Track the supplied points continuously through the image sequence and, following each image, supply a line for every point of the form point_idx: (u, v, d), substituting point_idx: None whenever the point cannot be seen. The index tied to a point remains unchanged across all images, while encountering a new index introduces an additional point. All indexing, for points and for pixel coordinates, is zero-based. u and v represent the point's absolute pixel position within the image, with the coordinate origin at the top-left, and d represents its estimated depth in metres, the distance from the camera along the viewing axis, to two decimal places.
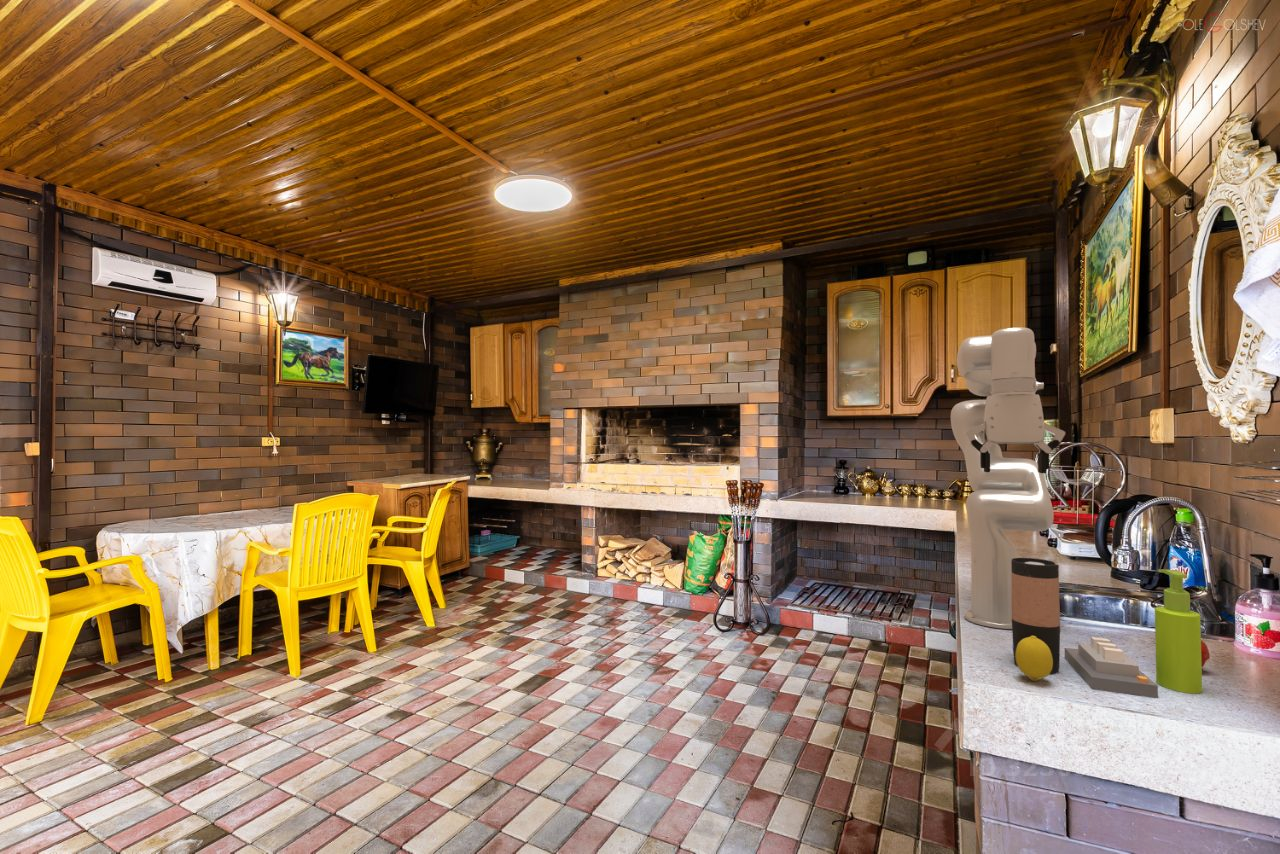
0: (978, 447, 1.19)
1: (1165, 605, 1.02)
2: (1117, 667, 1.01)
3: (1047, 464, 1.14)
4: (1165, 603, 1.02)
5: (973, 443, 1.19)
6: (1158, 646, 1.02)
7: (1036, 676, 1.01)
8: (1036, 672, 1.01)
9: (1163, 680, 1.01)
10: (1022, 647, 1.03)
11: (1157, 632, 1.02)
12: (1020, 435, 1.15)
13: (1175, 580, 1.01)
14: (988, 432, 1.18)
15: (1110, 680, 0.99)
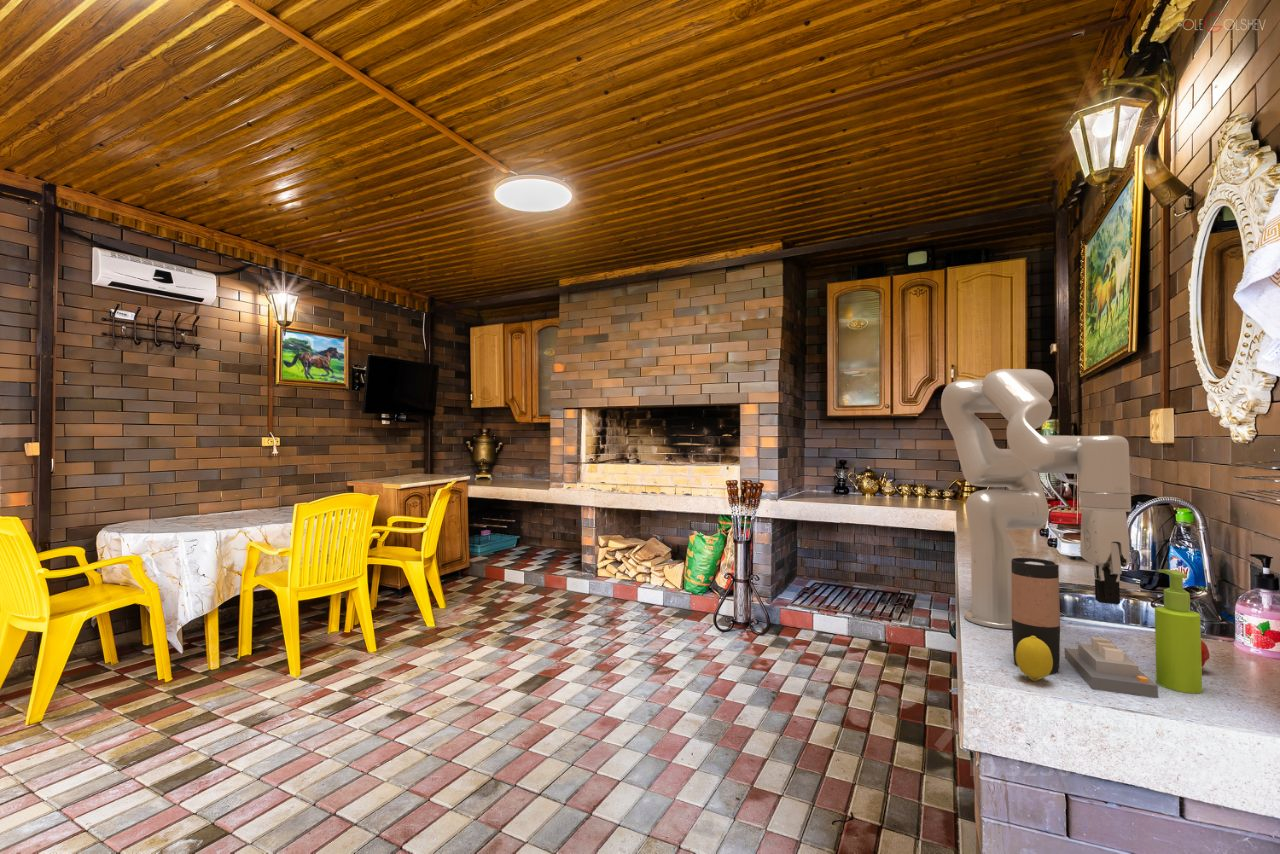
0: None
1: (1165, 605, 1.02)
2: (1117, 667, 1.01)
3: None
4: (1165, 603, 1.02)
5: None
6: (1158, 646, 1.02)
7: (1036, 676, 1.01)
8: (1036, 672, 1.01)
9: (1163, 680, 1.01)
10: (1022, 647, 1.03)
11: (1157, 632, 1.02)
12: None
13: (1175, 580, 1.01)
14: (1128, 555, 1.01)
15: (1110, 680, 0.99)
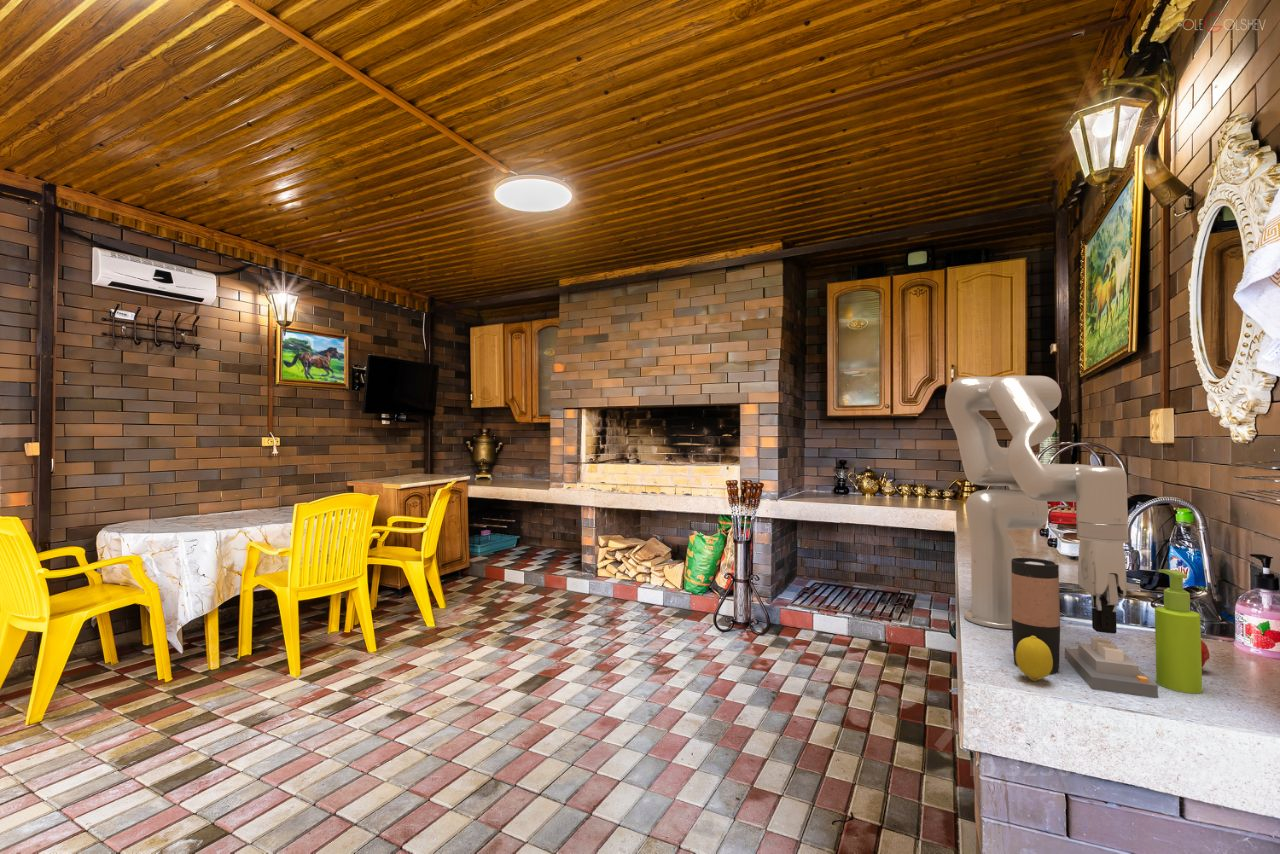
0: None
1: (1165, 605, 1.02)
2: (1117, 667, 1.01)
3: None
4: (1165, 603, 1.02)
5: None
6: (1158, 646, 1.02)
7: (1036, 676, 1.01)
8: (1036, 672, 1.01)
9: (1163, 680, 1.01)
10: (1022, 647, 1.03)
11: (1157, 632, 1.02)
12: None
13: (1175, 580, 1.01)
14: (1125, 586, 1.02)
15: (1110, 680, 0.99)
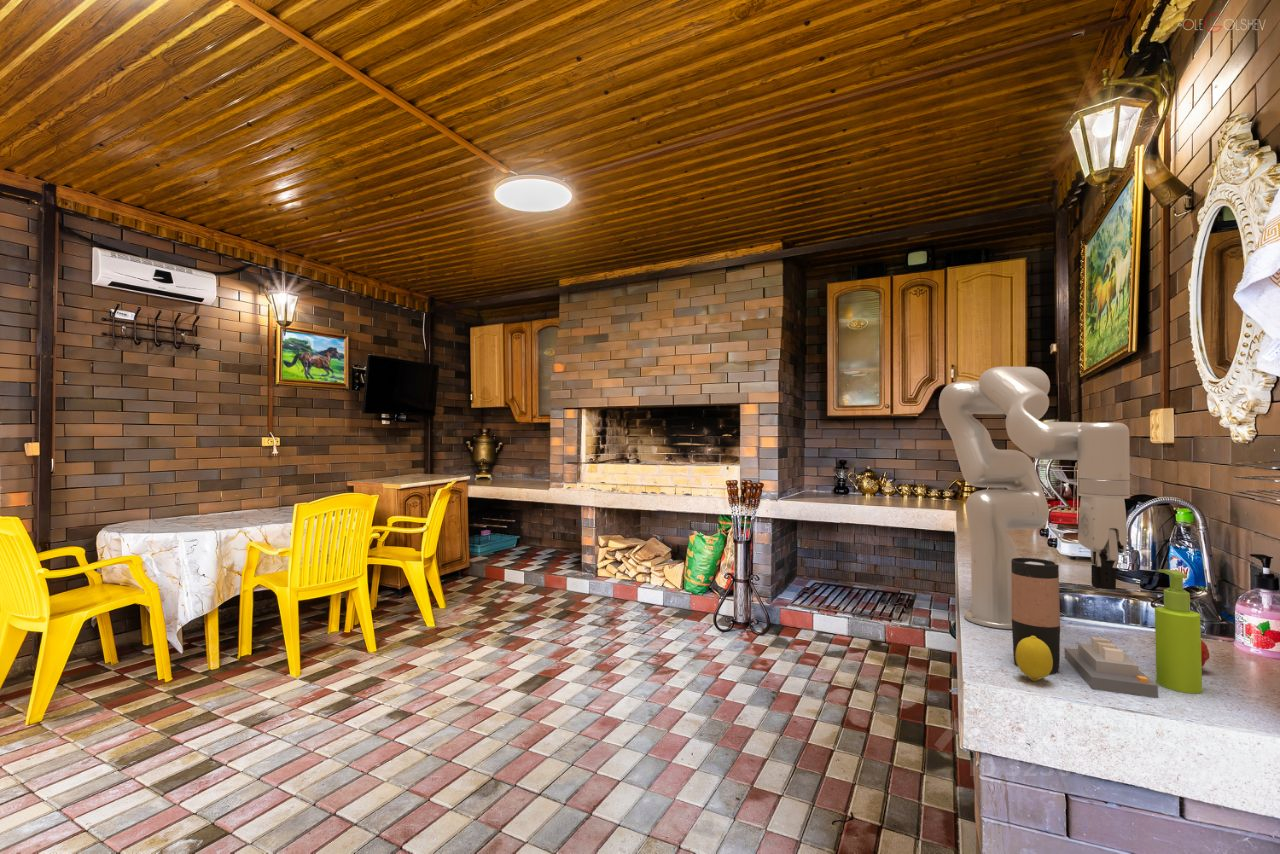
0: None
1: (1165, 605, 1.02)
2: (1117, 667, 1.01)
3: None
4: (1165, 603, 1.02)
5: None
6: (1158, 646, 1.02)
7: (1036, 676, 1.01)
8: (1036, 672, 1.01)
9: (1163, 680, 1.01)
10: (1022, 647, 1.03)
11: (1157, 632, 1.02)
12: None
13: (1175, 580, 1.01)
14: (1126, 542, 1.01)
15: (1110, 680, 0.99)
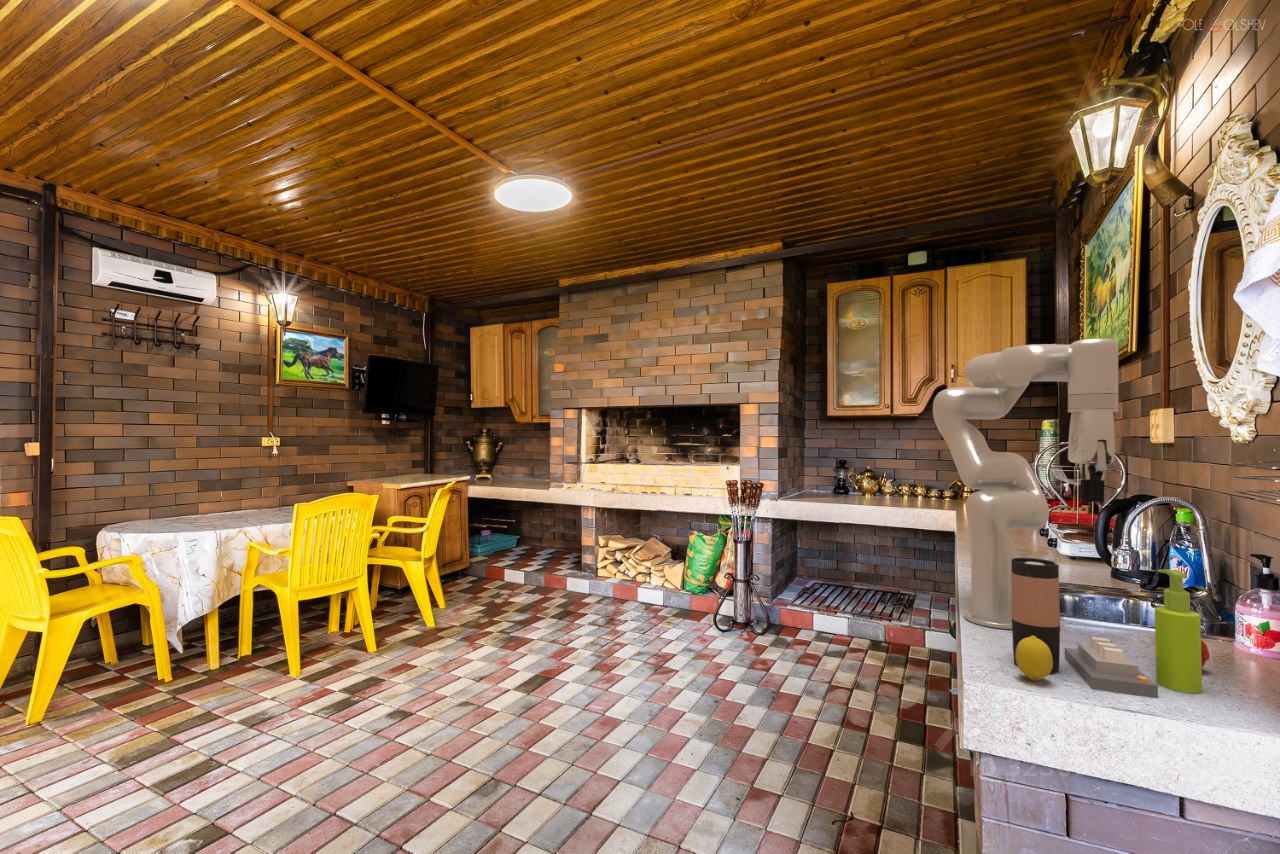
0: None
1: (1165, 605, 1.02)
2: (1117, 667, 1.01)
3: None
4: (1165, 603, 1.02)
5: None
6: (1158, 646, 1.02)
7: (1036, 676, 1.01)
8: (1036, 672, 1.01)
9: (1163, 680, 1.01)
10: (1022, 647, 1.03)
11: (1157, 632, 1.02)
12: None
13: (1175, 580, 1.01)
14: (1114, 452, 1.04)
15: (1110, 680, 0.99)
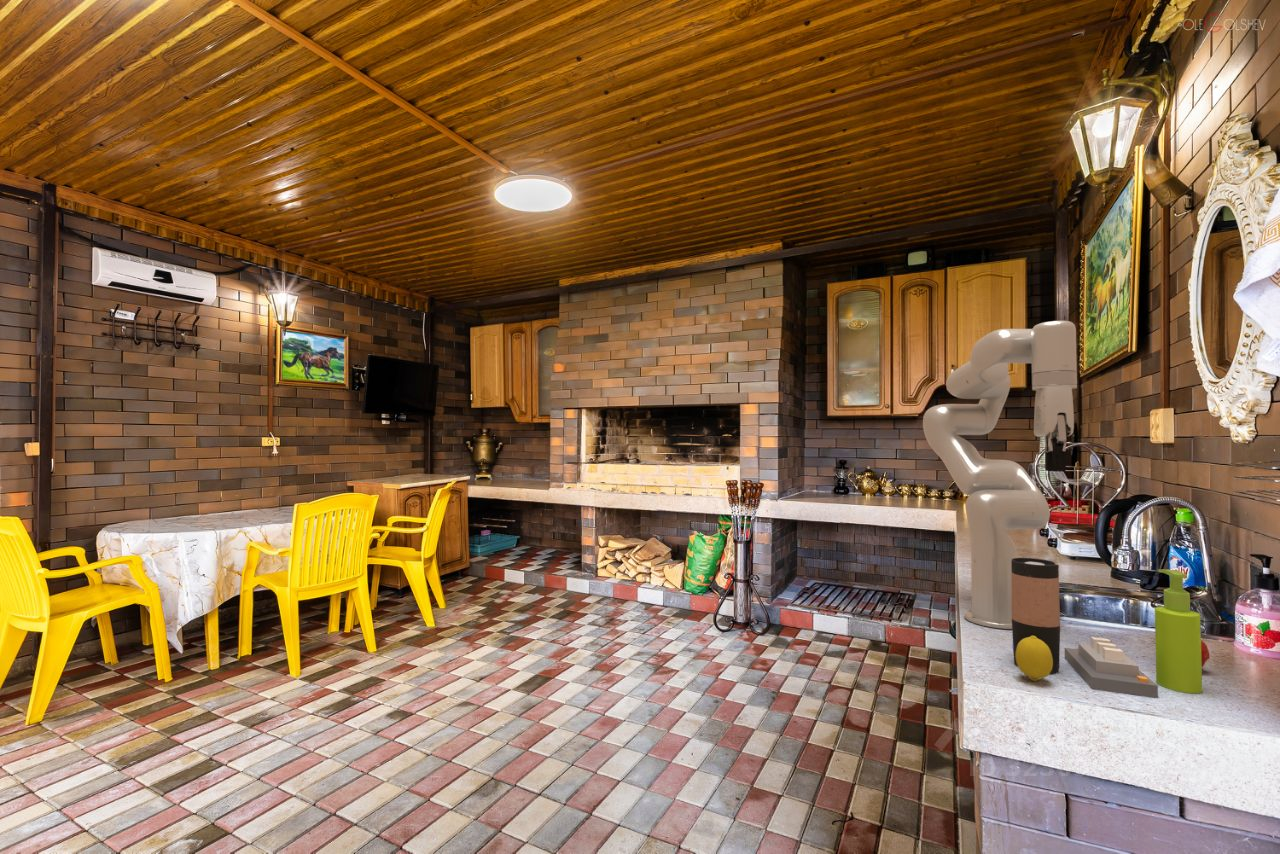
0: None
1: (1165, 605, 1.02)
2: (1117, 667, 1.01)
3: None
4: (1165, 603, 1.02)
5: None
6: (1158, 646, 1.02)
7: (1036, 676, 1.01)
8: (1036, 672, 1.01)
9: (1163, 680, 1.01)
10: (1022, 647, 1.03)
11: (1157, 632, 1.02)
12: None
13: (1175, 580, 1.01)
14: (1073, 424, 1.13)
15: (1110, 680, 0.99)
